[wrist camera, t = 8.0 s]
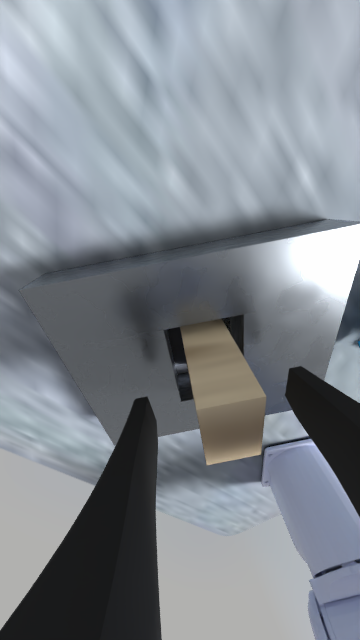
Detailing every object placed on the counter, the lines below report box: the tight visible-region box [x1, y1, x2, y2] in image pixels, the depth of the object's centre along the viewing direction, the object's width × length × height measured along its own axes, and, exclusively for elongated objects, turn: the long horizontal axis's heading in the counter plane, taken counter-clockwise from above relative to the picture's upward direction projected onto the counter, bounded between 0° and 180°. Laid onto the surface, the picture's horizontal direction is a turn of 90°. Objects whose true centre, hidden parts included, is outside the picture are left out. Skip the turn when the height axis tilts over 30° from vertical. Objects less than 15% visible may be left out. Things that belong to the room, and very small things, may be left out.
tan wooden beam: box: [180, 319, 266, 465], centre depth 11 cm, size 4×3×7 cm, turn 9°
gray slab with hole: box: [19, 219, 360, 445], centre depth 13 cm, size 13×16×2 cm
